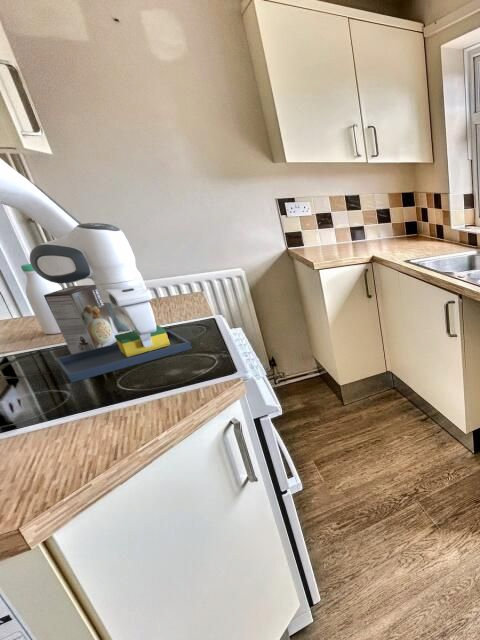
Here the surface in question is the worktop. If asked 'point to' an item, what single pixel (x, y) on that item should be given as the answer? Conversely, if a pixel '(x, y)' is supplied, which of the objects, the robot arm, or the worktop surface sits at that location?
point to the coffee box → (82, 318)
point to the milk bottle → (41, 299)
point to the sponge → (133, 345)
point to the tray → (114, 358)
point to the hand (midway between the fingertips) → (143, 343)
